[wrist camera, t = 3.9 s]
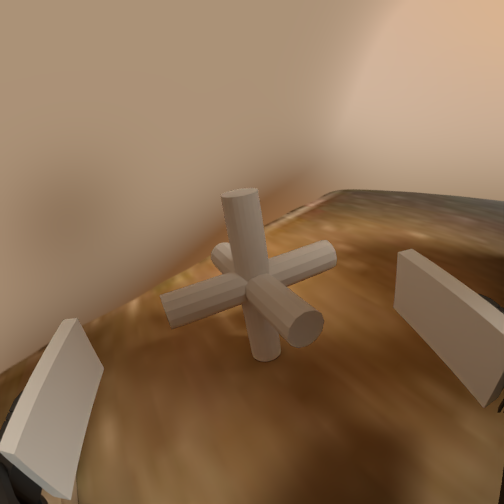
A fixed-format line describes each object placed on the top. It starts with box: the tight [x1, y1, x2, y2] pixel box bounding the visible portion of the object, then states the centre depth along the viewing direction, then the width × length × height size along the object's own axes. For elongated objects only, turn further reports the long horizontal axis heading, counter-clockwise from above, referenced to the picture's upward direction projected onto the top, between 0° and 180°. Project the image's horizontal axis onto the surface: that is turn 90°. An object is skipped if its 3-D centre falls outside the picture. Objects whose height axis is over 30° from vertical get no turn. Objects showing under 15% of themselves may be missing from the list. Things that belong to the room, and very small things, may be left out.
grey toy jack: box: [160, 188, 337, 362], centre depth 16 cm, size 10×10×10 cm
